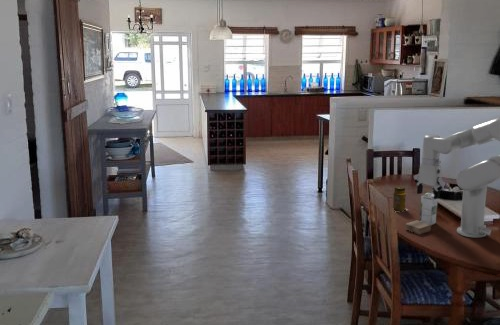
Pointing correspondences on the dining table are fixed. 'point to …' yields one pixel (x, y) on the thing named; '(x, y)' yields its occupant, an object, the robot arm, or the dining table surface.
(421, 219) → the syrup box
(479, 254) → the dining table surface
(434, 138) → the robot arm
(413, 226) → the tan flat square box
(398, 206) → the condiment
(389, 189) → the dining table surface
